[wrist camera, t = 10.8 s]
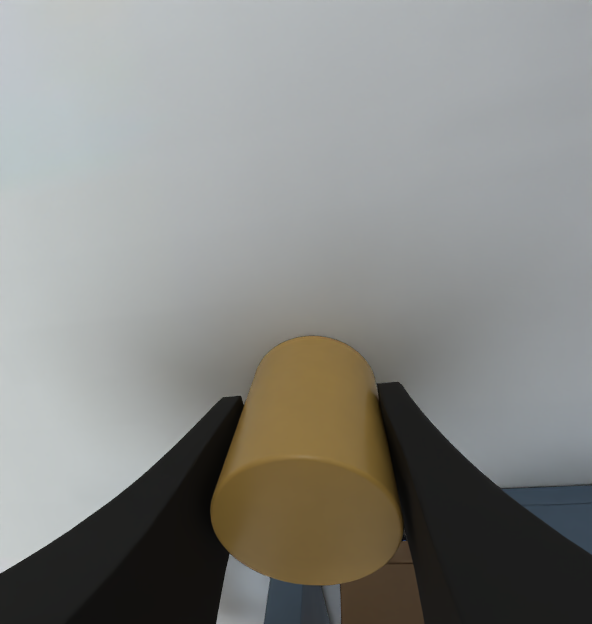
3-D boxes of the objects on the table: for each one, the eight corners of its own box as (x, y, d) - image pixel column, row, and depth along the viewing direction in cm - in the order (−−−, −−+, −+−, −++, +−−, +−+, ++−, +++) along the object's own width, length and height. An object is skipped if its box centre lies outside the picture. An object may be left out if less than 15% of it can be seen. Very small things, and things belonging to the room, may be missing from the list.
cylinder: (242, 342, 11) (184, 463, 7) (370, 327, 11) (399, 450, 6) (267, 438, 13) (234, 587, 9) (380, 430, 12) (409, 587, 8)
